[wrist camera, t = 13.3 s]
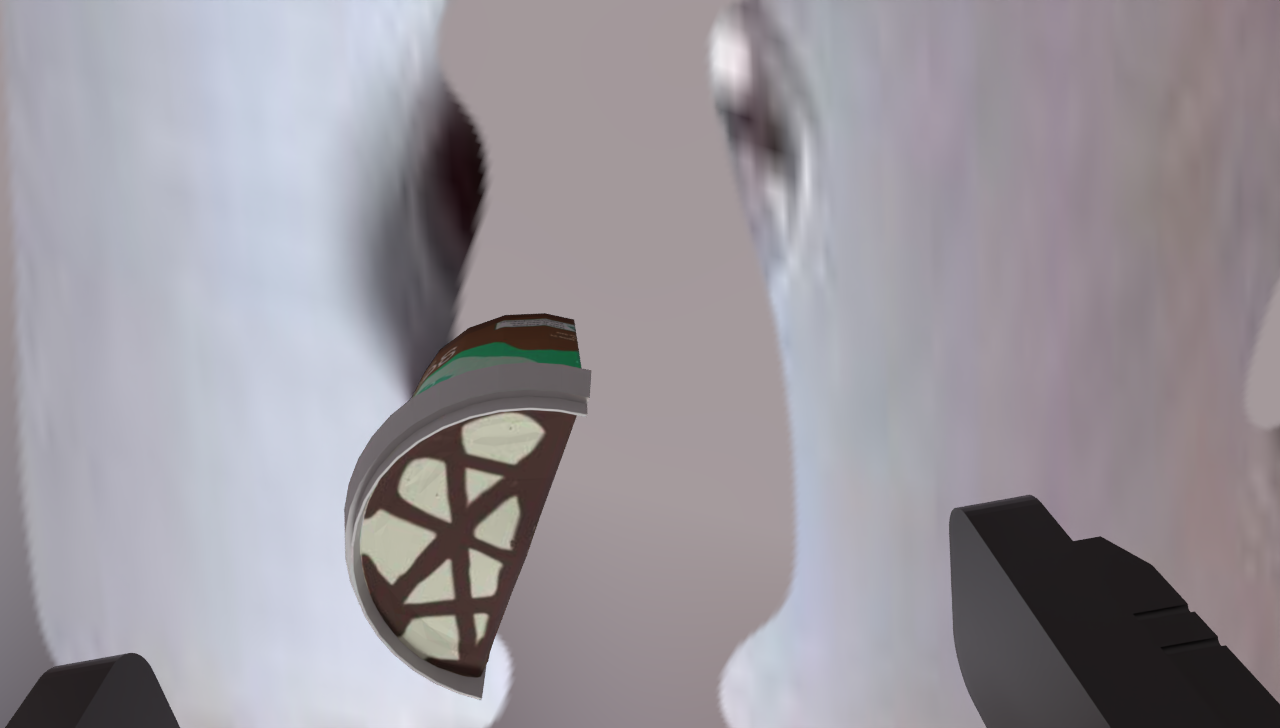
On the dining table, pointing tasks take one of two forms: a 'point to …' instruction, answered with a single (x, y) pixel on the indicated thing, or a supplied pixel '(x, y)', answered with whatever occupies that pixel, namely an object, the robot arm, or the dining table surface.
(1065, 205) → the dining table surface
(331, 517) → the dining table surface
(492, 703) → the dining table surface
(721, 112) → the dining table surface
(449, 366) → the food container
